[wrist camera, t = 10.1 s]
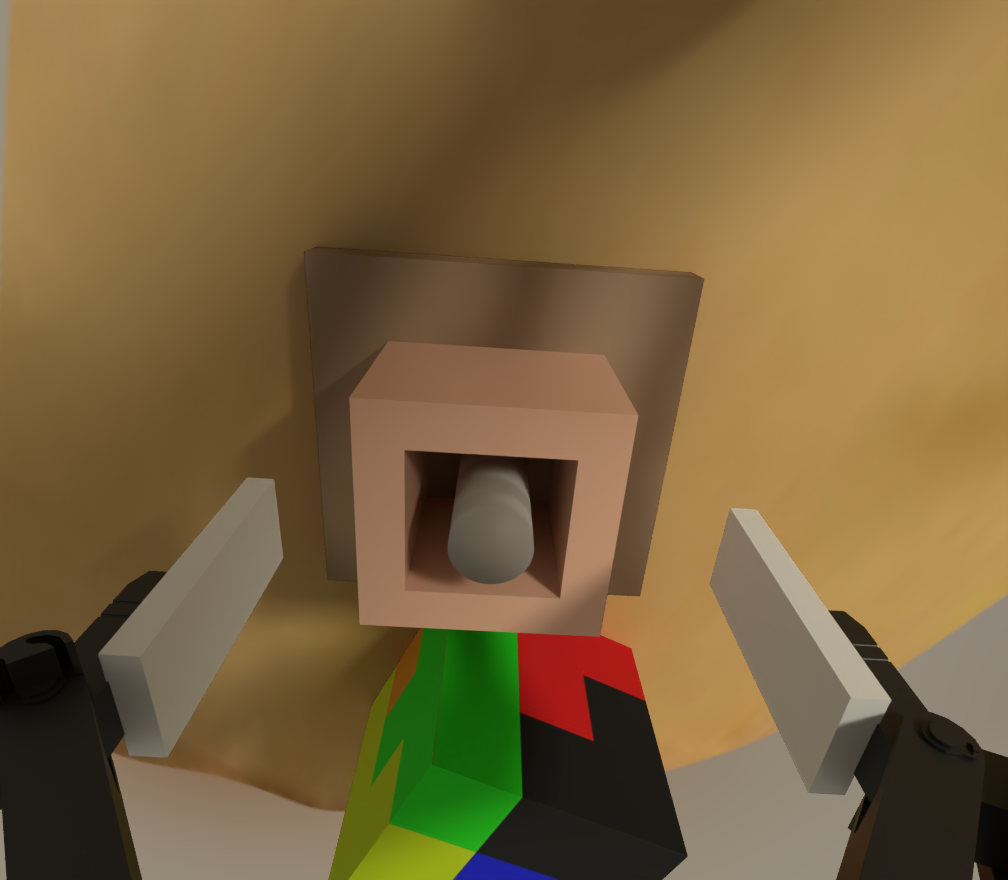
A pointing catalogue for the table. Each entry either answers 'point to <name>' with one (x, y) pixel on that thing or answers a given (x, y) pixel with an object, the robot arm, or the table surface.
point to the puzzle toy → (509, 766)
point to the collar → (488, 431)
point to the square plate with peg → (510, 325)
